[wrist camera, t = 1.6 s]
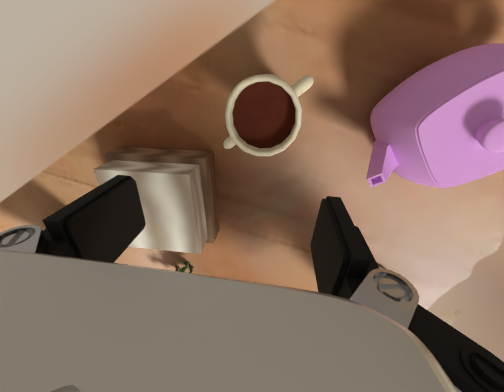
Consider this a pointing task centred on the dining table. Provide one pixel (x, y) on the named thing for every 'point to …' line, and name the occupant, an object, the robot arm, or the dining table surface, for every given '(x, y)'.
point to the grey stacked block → (170, 195)
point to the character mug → (264, 114)
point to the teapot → (443, 122)
